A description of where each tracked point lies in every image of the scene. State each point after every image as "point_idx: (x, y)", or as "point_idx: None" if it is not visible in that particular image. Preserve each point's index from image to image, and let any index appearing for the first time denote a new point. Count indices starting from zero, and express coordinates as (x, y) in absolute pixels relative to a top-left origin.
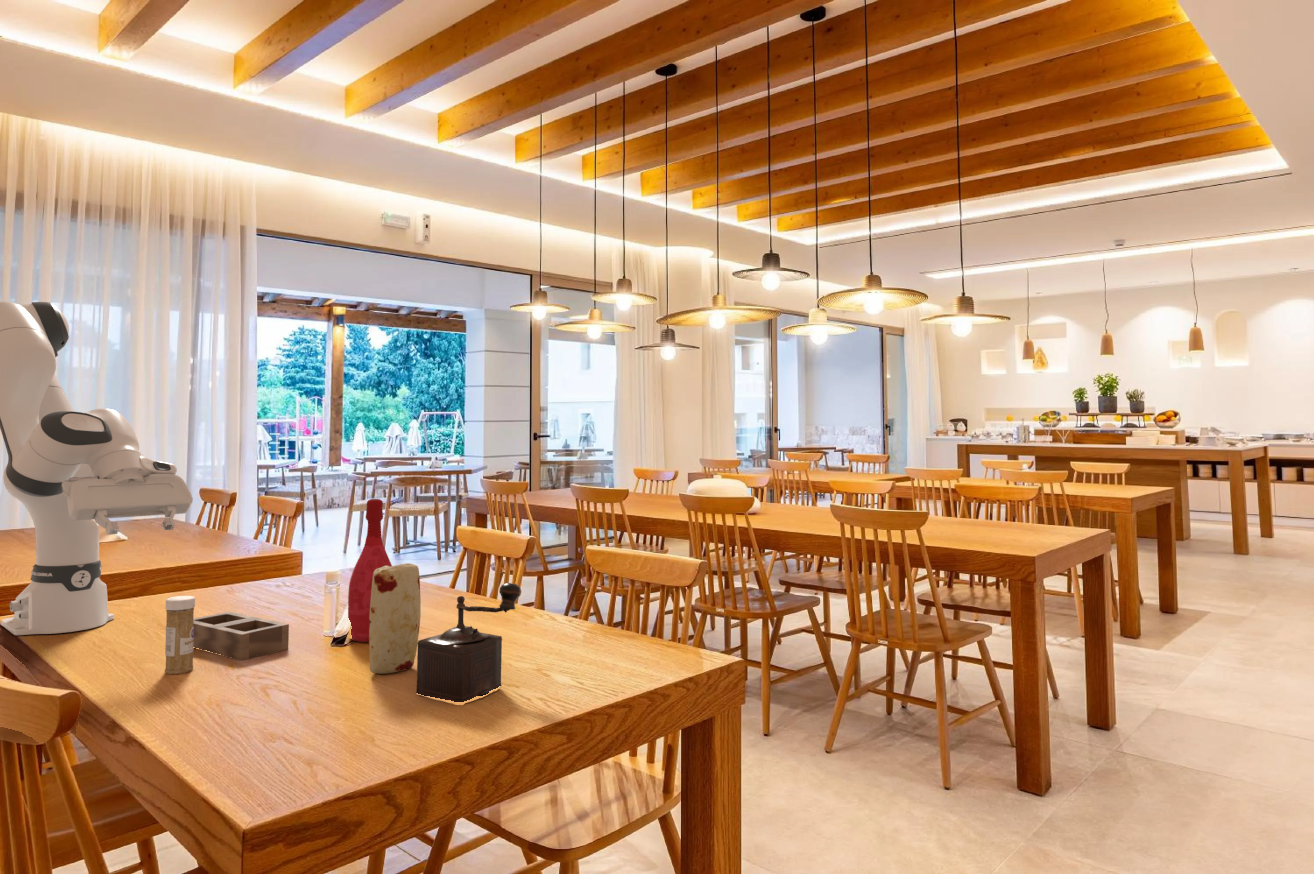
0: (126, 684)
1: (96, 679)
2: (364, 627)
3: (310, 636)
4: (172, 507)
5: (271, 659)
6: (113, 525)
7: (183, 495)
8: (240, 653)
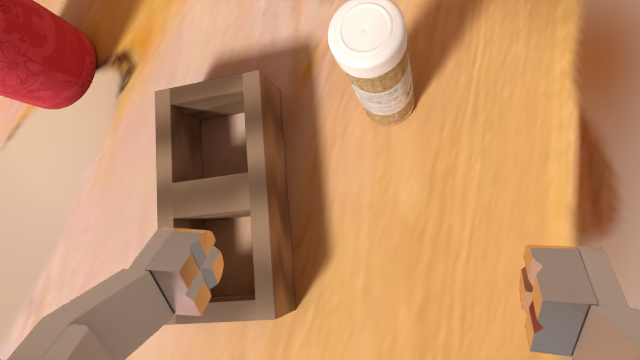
0: (497, 82)
1: (529, 164)
2: (71, 28)
3: (114, 166)
4: (31, 356)
5: (243, 59)
6: (573, 269)
7: None
8: (275, 89)
